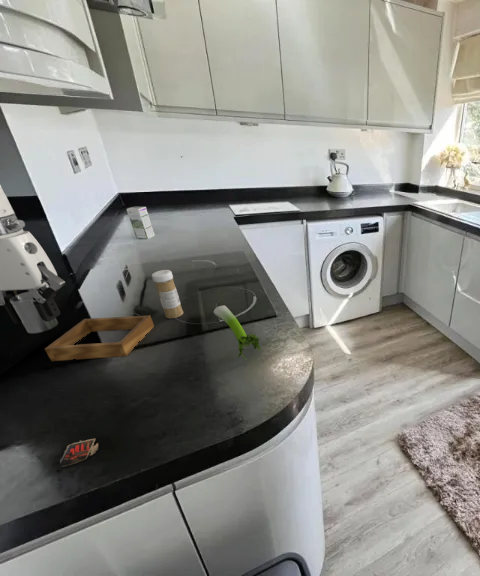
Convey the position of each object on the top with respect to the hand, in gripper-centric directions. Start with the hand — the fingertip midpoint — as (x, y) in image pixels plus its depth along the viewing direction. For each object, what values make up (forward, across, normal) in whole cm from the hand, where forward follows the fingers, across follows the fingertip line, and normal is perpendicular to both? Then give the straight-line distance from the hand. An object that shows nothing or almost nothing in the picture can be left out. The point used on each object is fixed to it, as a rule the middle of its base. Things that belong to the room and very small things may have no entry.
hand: (38, 317), depth 63 cm
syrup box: (+15, +35, -104) cm, 111 cm away
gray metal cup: (+2, 0, 0) cm, 2 cm away
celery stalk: (+15, -31, -12) cm, 37 cm away
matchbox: (+15, -15, +20) cm, 29 cm away
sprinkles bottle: (+15, -11, -25) cm, 31 cm away
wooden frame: (+15, 0, -13) cm, 20 cm away
